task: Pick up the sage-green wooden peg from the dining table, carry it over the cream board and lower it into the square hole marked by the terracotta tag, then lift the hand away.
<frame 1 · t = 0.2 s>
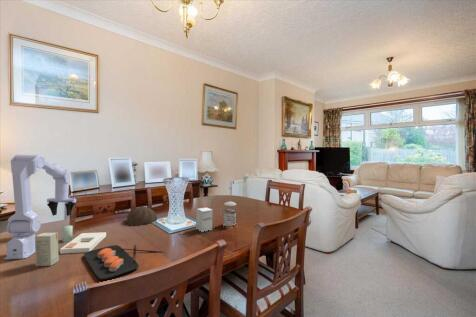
hand: (61, 215, 126), 10 cm above the table, tool pointing down, fingers open, 7 cm apart
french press: (228, 225, 147), on the table
skincare box: (47, 264, 93), on the table
sushi plate: (129, 258, 101), on the table
decorative dome: (142, 221, 150), on the table
peg: (67, 240, 116), on the table
hole board: (85, 243, 112), on the table
supplement box: (204, 230, 137), on the table
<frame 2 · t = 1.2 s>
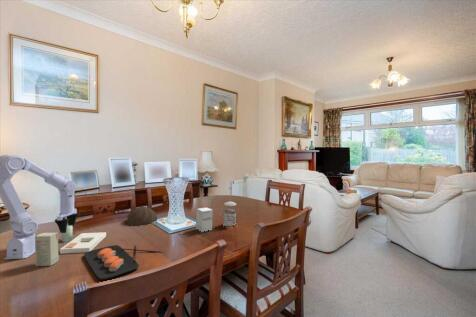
hand: (67, 230, 116), 5 cm above the table, tool pointing down, fingers open, 7 cm apart
nothing on the table moved.
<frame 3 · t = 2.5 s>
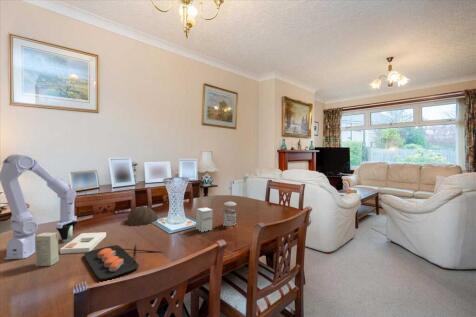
hand: (67, 237, 116), 1 cm above the table, tool pointing down, fingers closed on peg, 4 cm apart
peg: (67, 240, 116), on the table, touching gripper
everything else where it was.
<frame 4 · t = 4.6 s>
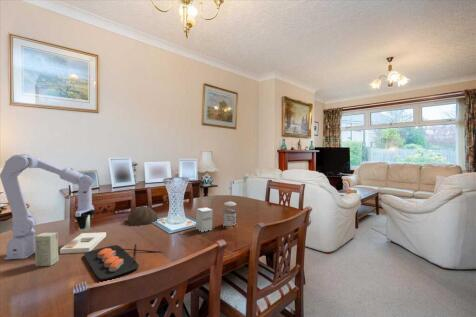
hand: (84, 226, 112), 8 cm above the table, tool pointing down, fingers closed on peg, 4 cm apart
peg: (84, 229, 112), point 7 cm above the table, touching gripper
everything else where it was.
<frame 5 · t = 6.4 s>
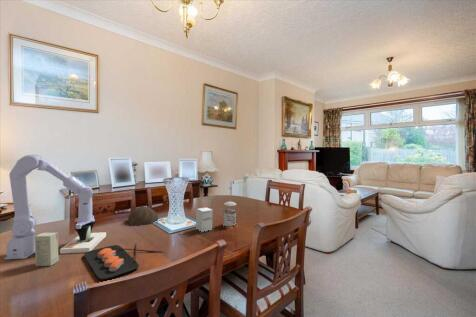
hand: (85, 238, 112), 3 cm above the table, tool pointing down, fingers closed on peg, 4 cm apart
peg: (85, 241, 112), point 1 cm above the table, touching gripper
everything else where it was.
when the fingers open (3 cm above the table, at t = 6.9 s): peg drops 1 cm, resting in hole board.
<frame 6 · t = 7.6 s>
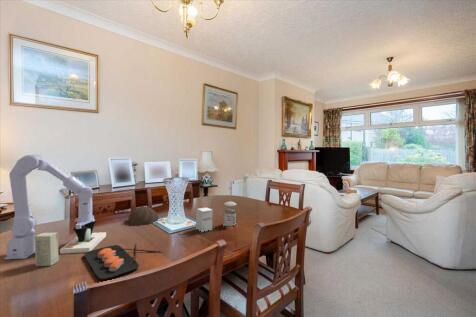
hand: (85, 238, 112), 3 cm above the table, tool pointing down, fingers open, 7 cm apart
peg: (85, 244, 112), resting in hole board
everything else where it was.
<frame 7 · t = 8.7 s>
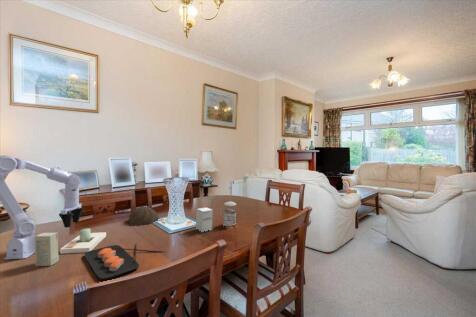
hand: (71, 224, 114), 9 cm above the table, tool pointing down, fingers open, 7 cm apart
nothing on the table moved.
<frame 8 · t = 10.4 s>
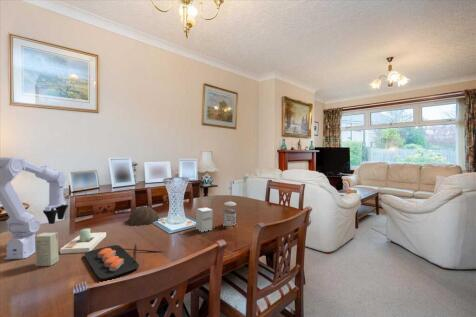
hand: (56, 221, 117), 9 cm above the table, tool pointing down, fingers open, 7 cm apart
at the end: peg 0.1 cm off-centre on the hole board, point 0.0 cm above the hole board's base; peg tilted 1°; the gripper is holding nothing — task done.
